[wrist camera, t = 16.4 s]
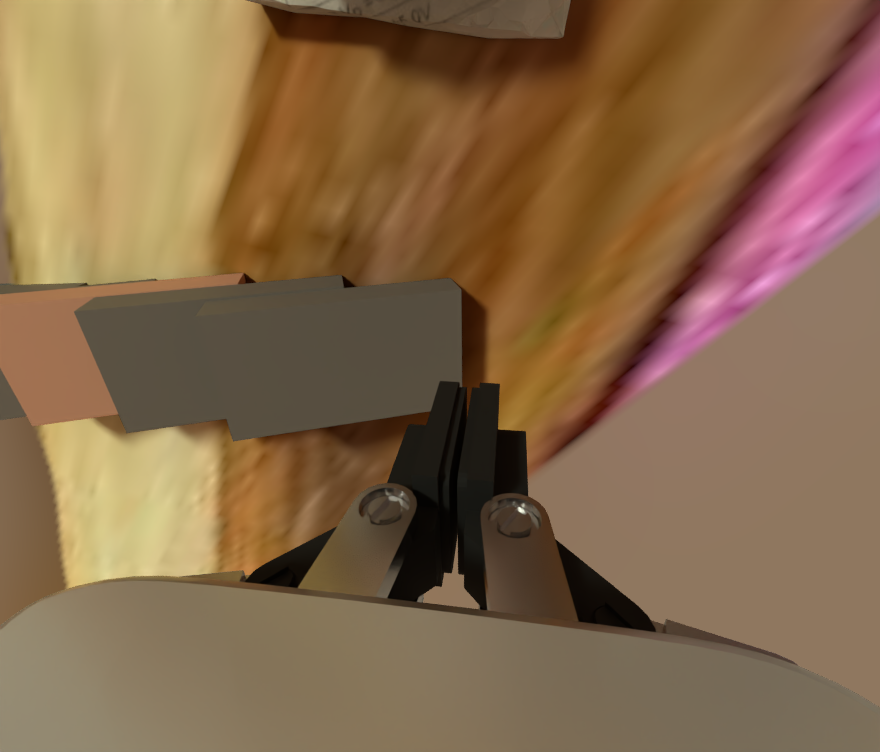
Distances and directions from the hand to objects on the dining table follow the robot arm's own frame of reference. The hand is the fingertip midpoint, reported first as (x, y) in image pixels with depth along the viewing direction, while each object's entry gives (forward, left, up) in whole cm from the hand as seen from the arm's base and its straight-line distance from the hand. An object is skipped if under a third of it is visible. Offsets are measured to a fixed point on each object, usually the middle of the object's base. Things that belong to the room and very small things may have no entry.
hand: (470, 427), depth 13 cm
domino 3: (+1, 0, -6) cm, 6 cm away
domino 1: (+10, 0, -6) cm, 11 cm away
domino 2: (+6, 0, -6) cm, 8 cm away
